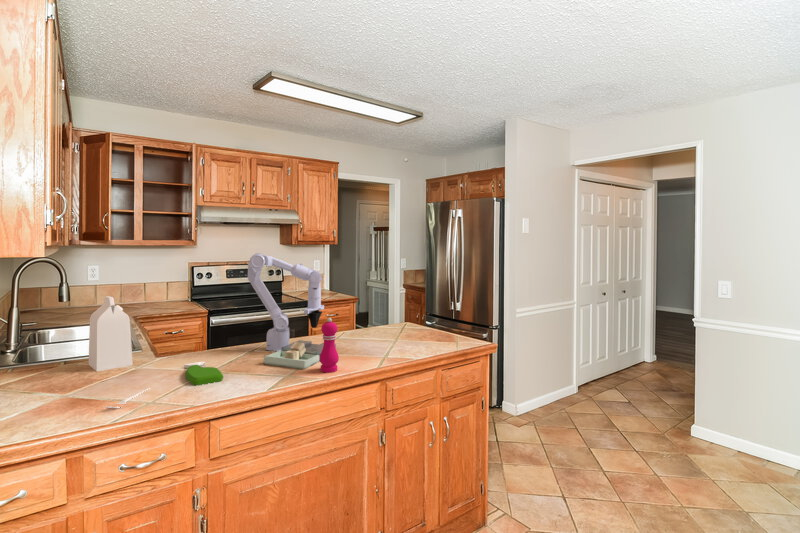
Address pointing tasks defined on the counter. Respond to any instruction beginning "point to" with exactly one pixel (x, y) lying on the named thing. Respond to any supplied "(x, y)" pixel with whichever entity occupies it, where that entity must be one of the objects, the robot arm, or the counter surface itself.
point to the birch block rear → (299, 348)
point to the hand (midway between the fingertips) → (314, 327)
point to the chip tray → (291, 360)
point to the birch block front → (292, 354)
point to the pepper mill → (329, 347)
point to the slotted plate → (307, 347)
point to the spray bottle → (202, 374)
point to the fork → (127, 399)
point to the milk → (109, 337)
